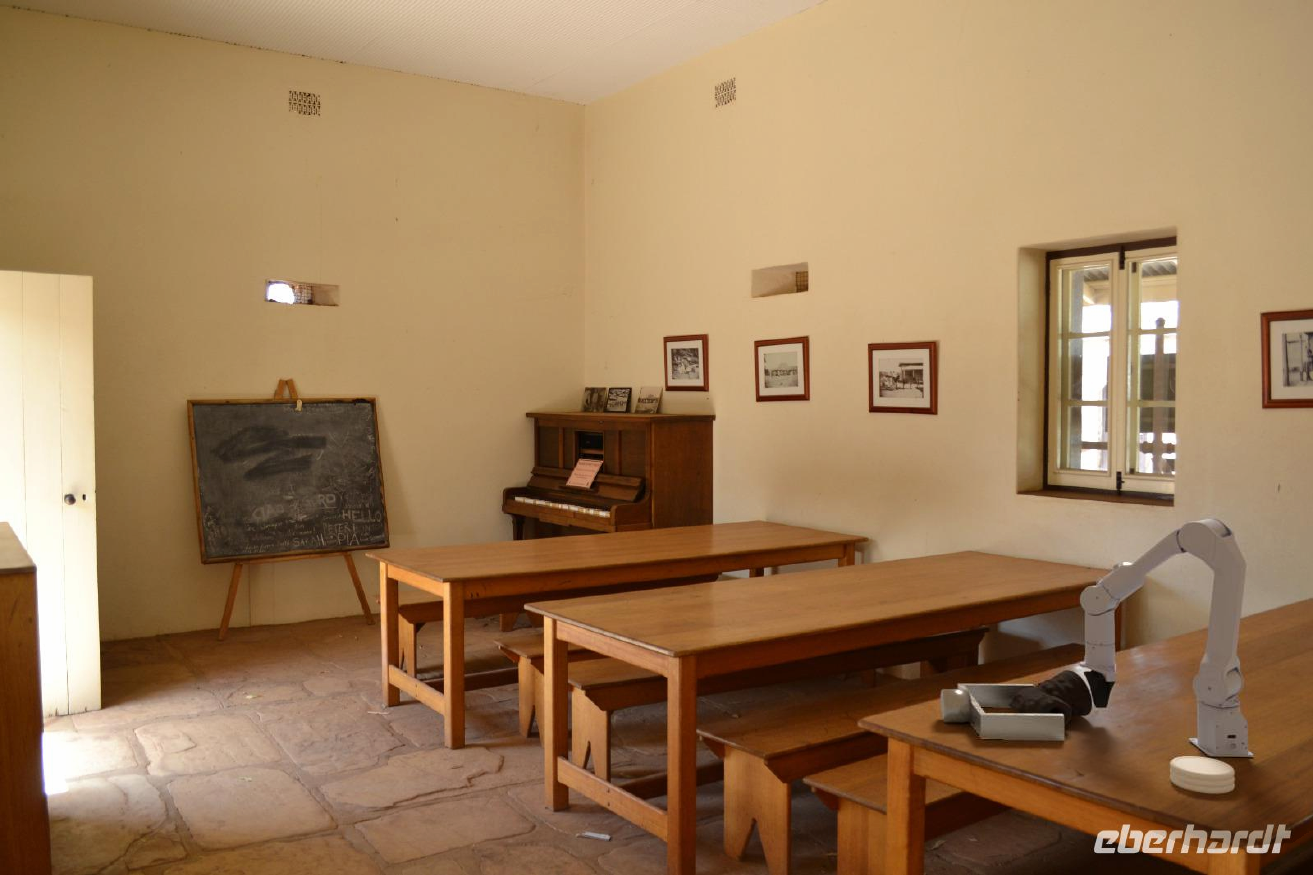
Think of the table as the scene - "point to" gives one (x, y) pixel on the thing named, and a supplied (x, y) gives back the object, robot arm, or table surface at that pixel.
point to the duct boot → (998, 725)
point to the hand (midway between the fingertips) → (1100, 707)
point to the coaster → (1202, 774)
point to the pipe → (1055, 697)
